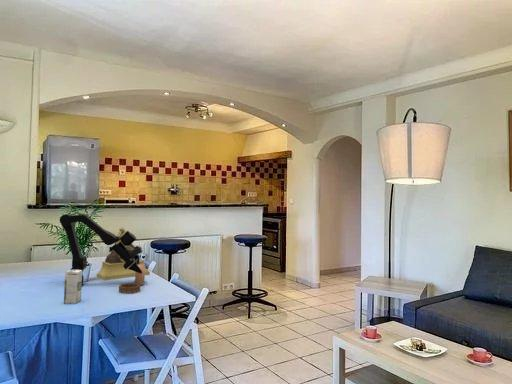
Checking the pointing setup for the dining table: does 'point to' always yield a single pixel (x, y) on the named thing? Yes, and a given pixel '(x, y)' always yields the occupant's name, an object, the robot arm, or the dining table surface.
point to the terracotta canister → (140, 274)
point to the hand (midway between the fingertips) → (142, 272)
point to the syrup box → (72, 286)
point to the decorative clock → (117, 265)
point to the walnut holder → (129, 288)
